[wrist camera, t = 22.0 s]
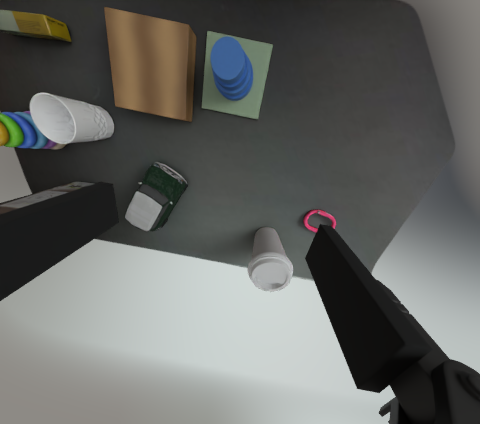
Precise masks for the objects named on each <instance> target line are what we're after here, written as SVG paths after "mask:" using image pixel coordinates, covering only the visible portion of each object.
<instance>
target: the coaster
mask: <svg viewBox="0 0 480 424" xmlns="http://www.w3.org/2000/svg"><path fill="white" fill-rule="evenodd" d="M225 36H229V35H225V34H220V33H215V32H210V31H207V43H206V56H205V70H204V83H203V96H202V108H204V109H209V110H214V111H219V112H224V113H228V114H233V115H238V116H243V117H248V118H253V119H257V120H258V116H259V111H260V106H261V101H262V96H263V92H264V87H265V82H266V77H267V72H268V67H269V62H270V57H271V52H272V47H273V45H272V44H267V43H263V42H258V41H253V40H248V39H244V38H239V37H234V36H229V37H232V38H234V39H236V40H237V41H238V42H239V43H240V45H241V47H242V48H243V50H244V52H245V53H246V55H247V57H248V58H249V60H250V62H251V64H252V68H253V84H252V87H251V90H250V92H249V93H248V94H247V96H246V97H244V98H243V99H241V100H238V101H231V100H228V99H226V98H225V97H224V96H223V95H222V94H221V93H220V92H219V90H218V89H217V87H216V85H215V81H214V76H213V71H212V66H211V60H210V56H211V50H212V48H213V45H214V44H215V42H216V41H217V40H218V39H220V38H222V37H225Z"/></svg>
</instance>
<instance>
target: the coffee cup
mask: <svg viewBox="0 0 480 424" xmlns="http://www.w3.org/2000/svg"><path fill="white" fill-rule="evenodd" d="M248 273H249V277H250V279H251V280H252V282H253V283H254V285H255V286H256V287H258V288H259V289H261V290H264V291H278V290H281V289H283V288H285V287H286V286H287V285H288V284H289V282H290V279H291V278H292V274H293V266H292V263H291V261H290V260H289V259H288V258H287V256H286V254H285V251H284V249H283V246H282V244H281V241H280V239H279V236H278V234H277V232H276V230H274V229H273V228H270V227H263V228H260V229H259V230H258V231H257V232H256V234H255V239H254V245H253V252H252V258H251V261H250V263H249V265H248Z"/></svg>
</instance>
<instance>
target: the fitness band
mask: <svg viewBox="0 0 480 424" xmlns="http://www.w3.org/2000/svg"><path fill="white" fill-rule="evenodd" d="M313 213H318V214H320V215H323V216H326V217H328V218H330V219H331V220H332V225H331V226H332V227H333V228H335V226H336V220H335V219H334V218H333V216H332V215H331V214H329V213H327V212H324V211H322V210H311V211H309V212H308V213H307V214H306V215H305V217H304V225H305V226H306V228H308V229H309V230H311V231H314V232H316V233H317V230H318V229H317V228H314V227H312V226H310V225H308V223H307V220H308V218H309V216H310V215H311V214H313Z"/></svg>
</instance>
